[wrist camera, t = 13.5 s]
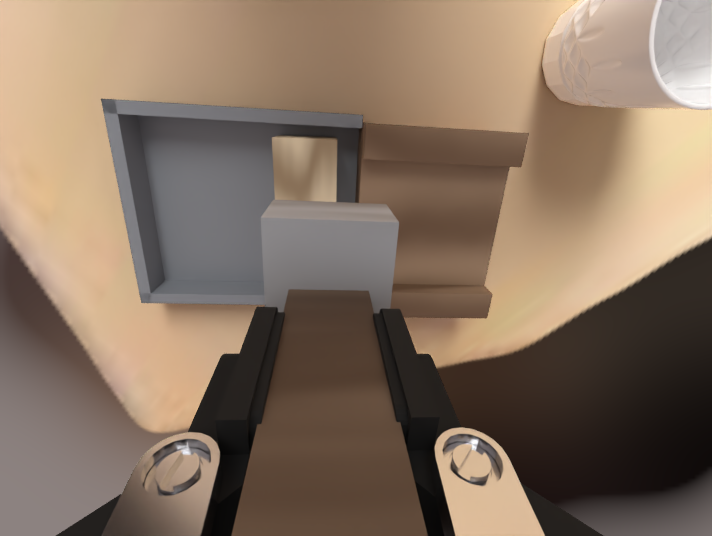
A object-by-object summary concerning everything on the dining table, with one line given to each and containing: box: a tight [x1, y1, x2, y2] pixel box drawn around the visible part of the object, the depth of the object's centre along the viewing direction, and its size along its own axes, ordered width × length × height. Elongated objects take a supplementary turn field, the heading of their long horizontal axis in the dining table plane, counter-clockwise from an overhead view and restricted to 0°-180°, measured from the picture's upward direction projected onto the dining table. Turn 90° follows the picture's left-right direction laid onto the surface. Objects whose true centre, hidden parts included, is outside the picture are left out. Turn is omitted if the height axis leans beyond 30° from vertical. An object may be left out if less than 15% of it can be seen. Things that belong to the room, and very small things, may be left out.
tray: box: [101, 99, 363, 305], centre depth 26 cm, size 14×16×3 cm
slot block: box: [355, 123, 529, 318], centre depth 26 cm, size 13×10×6 cm
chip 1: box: [272, 135, 337, 202], centre depth 24 cm, size 4×4×4 cm
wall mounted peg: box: [231, 200, 428, 536], centre depth 9 cm, size 7×4×12 cm, turn 177°
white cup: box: [542, 0, 712, 110], centre depth 21 cm, size 8×8×10 cm
